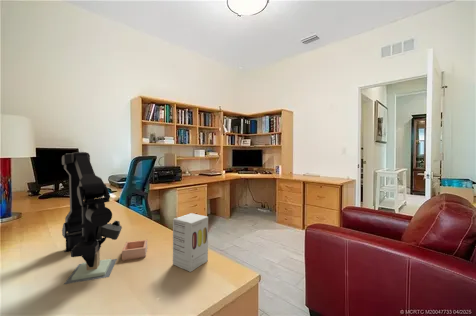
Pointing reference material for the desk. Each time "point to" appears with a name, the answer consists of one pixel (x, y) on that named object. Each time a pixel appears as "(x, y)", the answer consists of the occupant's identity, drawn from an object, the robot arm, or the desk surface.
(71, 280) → the mat
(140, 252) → the dish
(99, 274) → the lid
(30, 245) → the desk surface
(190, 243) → the supplement box
